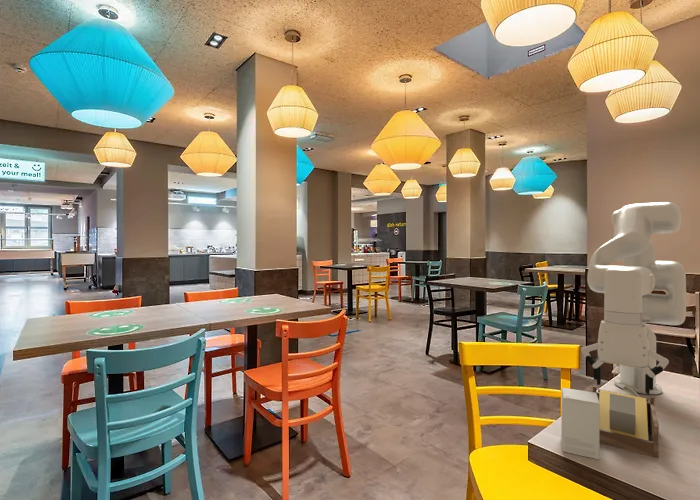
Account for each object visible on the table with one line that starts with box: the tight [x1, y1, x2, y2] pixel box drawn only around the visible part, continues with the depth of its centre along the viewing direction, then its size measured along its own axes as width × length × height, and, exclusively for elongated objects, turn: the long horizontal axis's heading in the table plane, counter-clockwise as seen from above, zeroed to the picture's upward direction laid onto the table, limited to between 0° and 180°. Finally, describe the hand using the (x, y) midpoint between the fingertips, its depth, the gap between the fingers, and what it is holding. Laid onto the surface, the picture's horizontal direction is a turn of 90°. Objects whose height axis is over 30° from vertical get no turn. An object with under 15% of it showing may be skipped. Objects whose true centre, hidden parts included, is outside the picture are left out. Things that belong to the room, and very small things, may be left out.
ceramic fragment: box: [619, 386, 641, 397], centre depth 114 cm, size 14×5×4 cm, turn 165°
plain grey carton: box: [609, 394, 636, 435], centre depth 91 cm, size 5×5×7 cm
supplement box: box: [560, 387, 600, 460], centre depth 87 cm, size 7×7×13 cm
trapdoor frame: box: [592, 385, 660, 459], centre depth 94 cm, size 17×13×8 cm
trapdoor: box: [597, 389, 649, 441], centre depth 95 cm, size 14×11×1 cm
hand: (622, 387), depth 92 cm, fingers open, 9 cm apart
